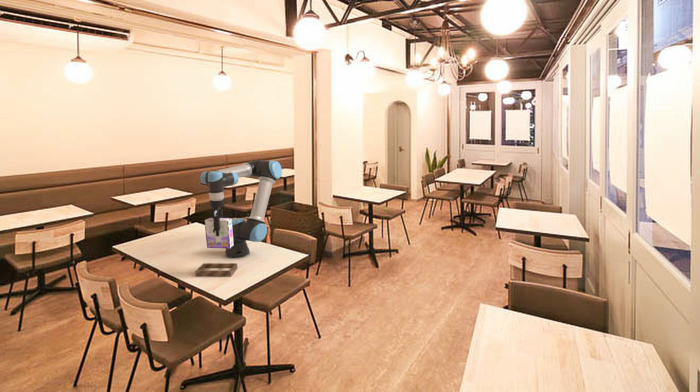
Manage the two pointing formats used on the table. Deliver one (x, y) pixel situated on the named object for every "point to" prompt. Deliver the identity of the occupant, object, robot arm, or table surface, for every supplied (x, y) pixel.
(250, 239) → the robot arm
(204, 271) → the wooden picture frame
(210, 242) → the candy box
